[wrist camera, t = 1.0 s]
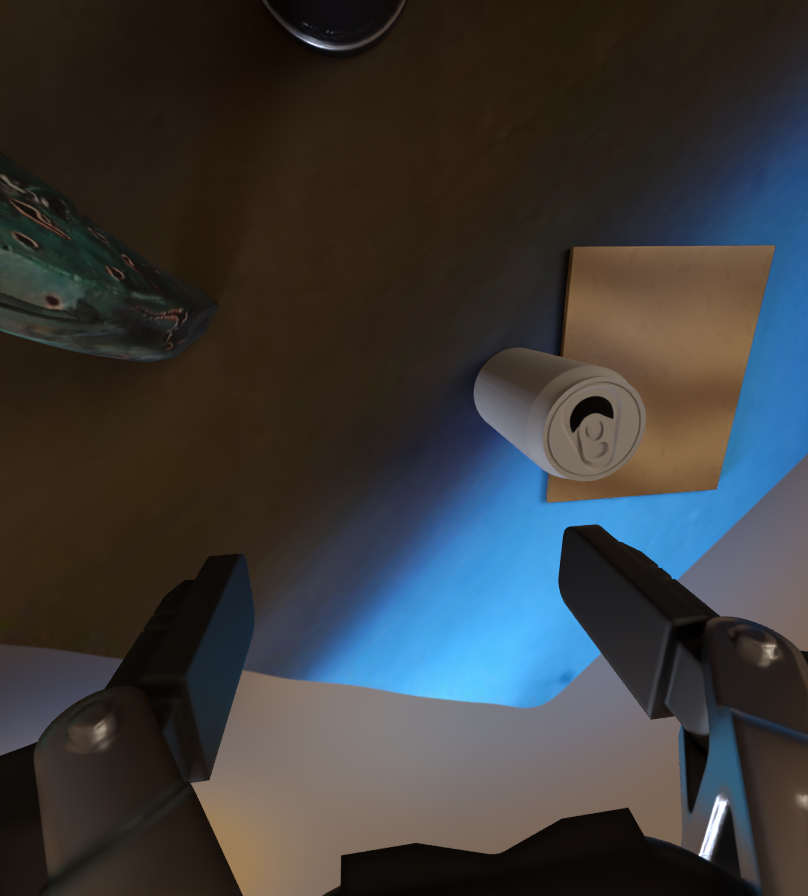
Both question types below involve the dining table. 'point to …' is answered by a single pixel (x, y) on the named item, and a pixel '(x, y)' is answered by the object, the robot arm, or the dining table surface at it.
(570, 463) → the beverage can
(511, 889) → the robot arm
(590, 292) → the cork mat
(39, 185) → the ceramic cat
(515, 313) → the dining table surface
